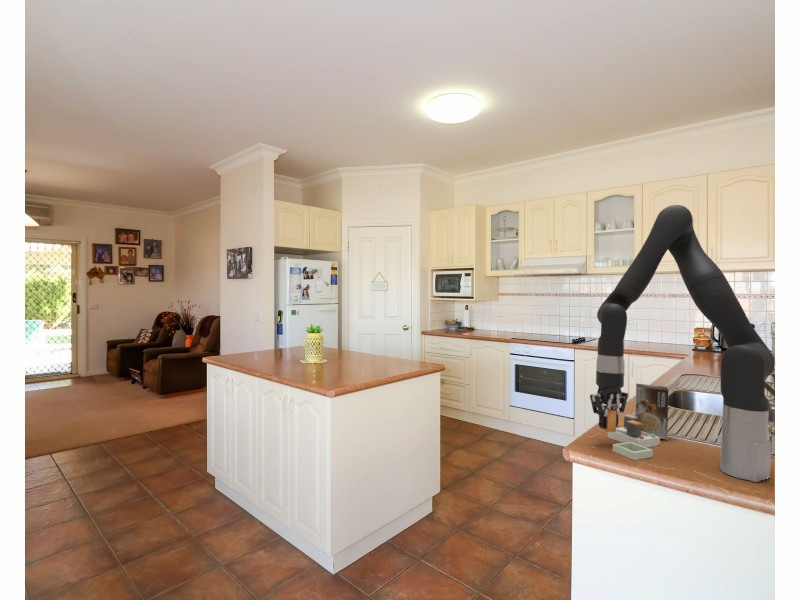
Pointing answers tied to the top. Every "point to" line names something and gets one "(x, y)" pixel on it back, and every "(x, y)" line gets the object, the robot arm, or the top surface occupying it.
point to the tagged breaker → (634, 428)
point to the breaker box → (635, 438)
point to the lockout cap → (611, 421)
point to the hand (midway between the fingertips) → (608, 427)
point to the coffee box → (652, 409)
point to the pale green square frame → (639, 450)
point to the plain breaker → (628, 418)
